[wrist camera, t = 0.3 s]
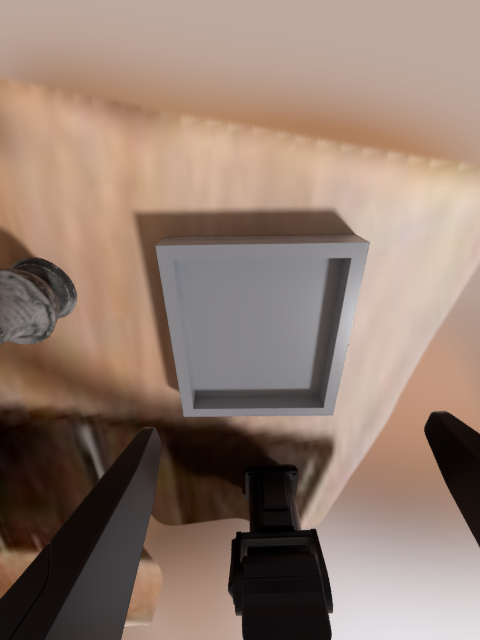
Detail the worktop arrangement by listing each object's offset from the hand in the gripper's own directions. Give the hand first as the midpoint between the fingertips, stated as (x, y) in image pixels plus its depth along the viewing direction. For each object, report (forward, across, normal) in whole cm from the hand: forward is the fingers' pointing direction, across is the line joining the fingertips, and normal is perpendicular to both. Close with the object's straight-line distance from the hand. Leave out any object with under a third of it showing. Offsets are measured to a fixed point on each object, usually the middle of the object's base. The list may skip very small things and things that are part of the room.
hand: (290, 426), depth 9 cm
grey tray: (+14, 0, +6) cm, 15 cm away
